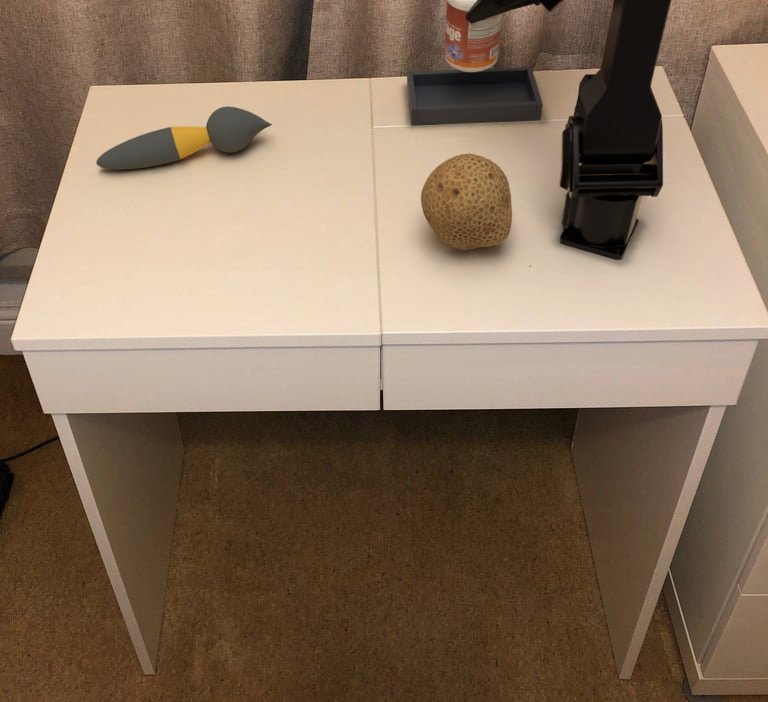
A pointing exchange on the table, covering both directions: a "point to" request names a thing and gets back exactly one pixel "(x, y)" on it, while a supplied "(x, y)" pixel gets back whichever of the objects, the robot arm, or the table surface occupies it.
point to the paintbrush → (185, 140)
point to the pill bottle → (470, 38)
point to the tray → (473, 96)
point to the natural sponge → (468, 202)
